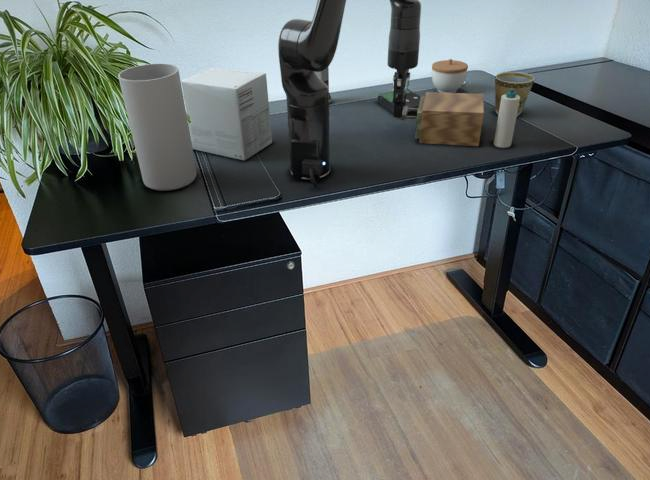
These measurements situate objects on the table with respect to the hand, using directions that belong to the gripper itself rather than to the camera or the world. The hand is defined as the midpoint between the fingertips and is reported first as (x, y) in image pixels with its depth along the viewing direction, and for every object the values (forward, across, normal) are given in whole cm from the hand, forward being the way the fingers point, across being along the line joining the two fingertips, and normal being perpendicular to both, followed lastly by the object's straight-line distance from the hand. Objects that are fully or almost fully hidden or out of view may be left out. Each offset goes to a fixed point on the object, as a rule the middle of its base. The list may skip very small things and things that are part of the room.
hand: (399, 111), depth 143 cm
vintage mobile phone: (+6, -20, -26) cm, 33 cm away
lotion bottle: (+5, +5, +26) cm, 27 cm away
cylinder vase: (+6, +37, -50) cm, 62 cm away
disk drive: (+6, -19, 0) cm, 20 cm away
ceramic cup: (+6, -19, +29) cm, 35 cm away
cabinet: (+6, 0, +13) cm, 14 cm away
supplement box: (+6, +16, -42) cm, 45 cm away
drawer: (+5, 0, +10) cm, 11 cm away
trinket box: (+6, -36, +12) cm, 38 cm away
